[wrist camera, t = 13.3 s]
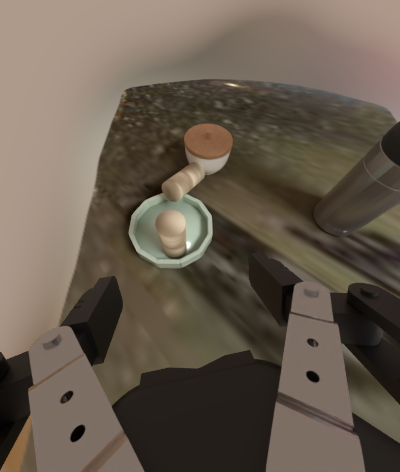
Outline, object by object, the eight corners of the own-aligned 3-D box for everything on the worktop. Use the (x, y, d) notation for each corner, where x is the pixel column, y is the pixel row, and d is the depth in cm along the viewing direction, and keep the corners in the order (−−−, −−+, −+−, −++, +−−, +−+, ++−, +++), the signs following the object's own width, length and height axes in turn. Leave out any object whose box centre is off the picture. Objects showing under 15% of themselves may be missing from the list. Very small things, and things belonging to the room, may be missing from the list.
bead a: (172, 235, 38) (166, 205, 29) (190, 245, 37) (191, 217, 28) (159, 252, 36) (149, 226, 27) (179, 263, 35) (175, 240, 26)
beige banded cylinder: (179, 205, 38) (203, 183, 44) (180, 186, 35) (206, 166, 41) (161, 196, 39) (187, 177, 45) (161, 177, 36) (188, 159, 42)
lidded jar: (179, 157, 49) (176, 121, 41) (216, 147, 51) (221, 112, 43) (194, 187, 45) (195, 154, 37) (234, 175, 47) (243, 141, 39)
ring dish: (162, 189, 44) (161, 180, 42) (223, 219, 41) (226, 212, 39) (116, 242, 38) (111, 236, 35) (185, 283, 34) (184, 279, 32)
